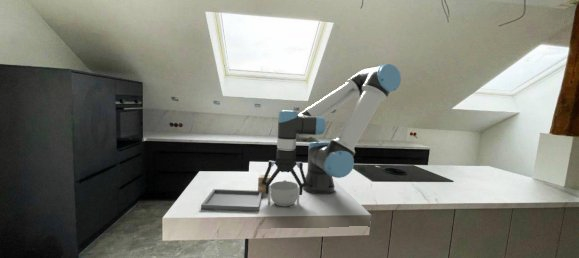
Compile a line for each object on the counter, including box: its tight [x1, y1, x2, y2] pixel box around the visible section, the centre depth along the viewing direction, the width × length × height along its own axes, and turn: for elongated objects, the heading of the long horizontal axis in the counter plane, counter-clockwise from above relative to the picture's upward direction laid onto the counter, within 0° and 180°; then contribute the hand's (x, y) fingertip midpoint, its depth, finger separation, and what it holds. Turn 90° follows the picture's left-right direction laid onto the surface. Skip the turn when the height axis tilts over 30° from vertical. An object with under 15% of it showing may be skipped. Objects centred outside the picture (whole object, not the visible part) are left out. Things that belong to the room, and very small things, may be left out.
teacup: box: [270, 179, 299, 208], centre depth 106 cm, size 14×11×8 cm
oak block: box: [257, 174, 271, 194], centre depth 119 cm, size 5×5×7 cm
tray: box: [200, 188, 263, 212], centre depth 105 cm, size 21×18×2 cm
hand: (283, 201), depth 107 cm, fingers open, 11 cm apart
